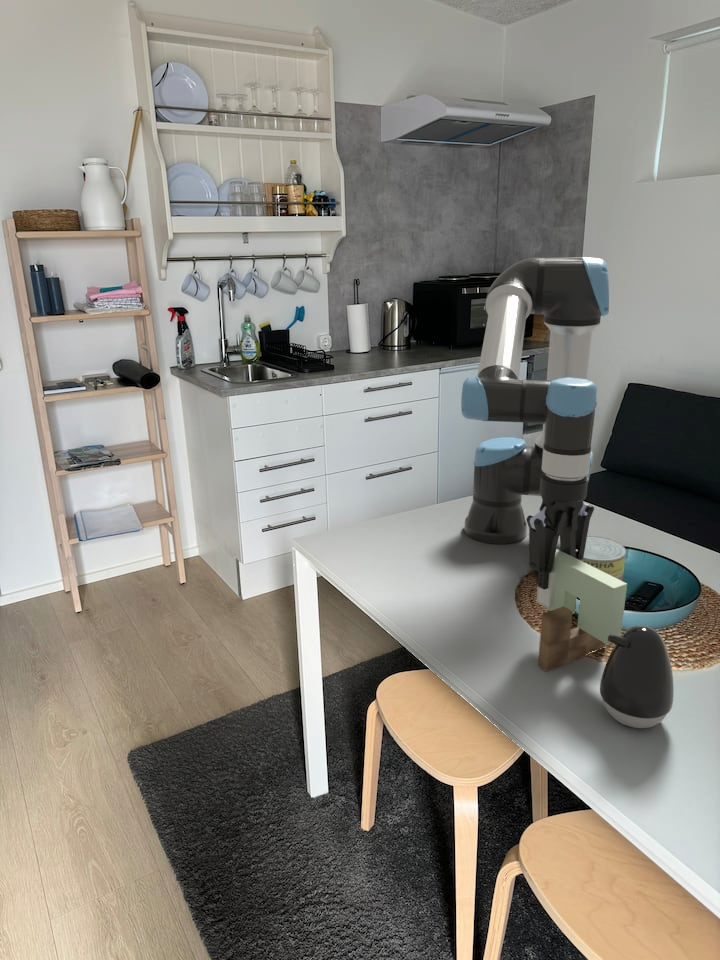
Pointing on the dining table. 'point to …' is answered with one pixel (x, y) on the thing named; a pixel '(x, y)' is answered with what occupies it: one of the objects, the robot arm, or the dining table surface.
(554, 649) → the brown u-shaped block
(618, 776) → the dining table surface
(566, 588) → the green arch bridge
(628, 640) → the pump dispenser
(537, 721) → the dining table surface
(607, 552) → the canned food
